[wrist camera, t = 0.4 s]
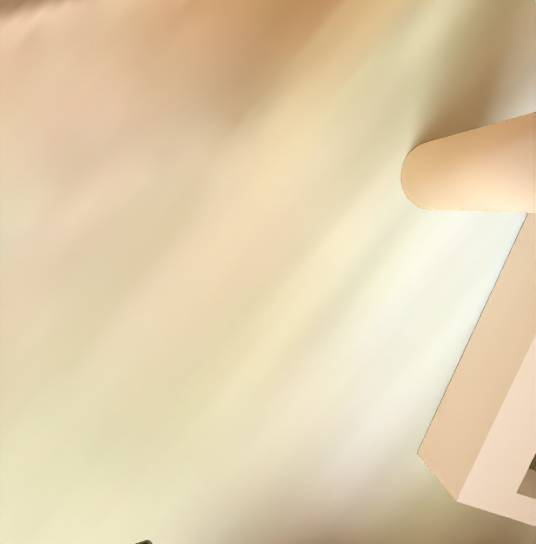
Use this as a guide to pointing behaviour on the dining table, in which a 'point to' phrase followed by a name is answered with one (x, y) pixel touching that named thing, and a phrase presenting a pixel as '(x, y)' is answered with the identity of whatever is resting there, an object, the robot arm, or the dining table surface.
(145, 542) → the robot arm
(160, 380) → the dining table surface
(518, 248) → the socket board
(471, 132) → the plug
